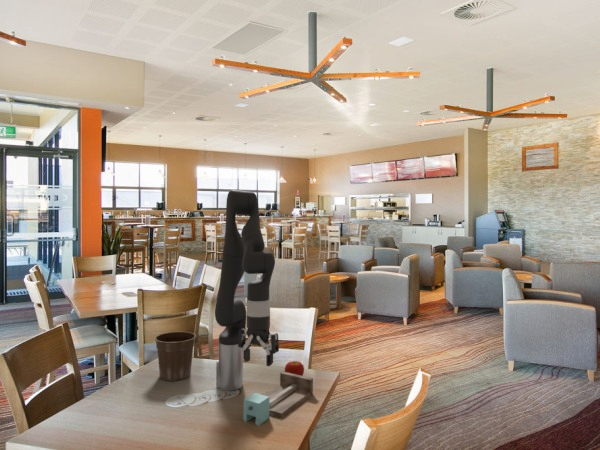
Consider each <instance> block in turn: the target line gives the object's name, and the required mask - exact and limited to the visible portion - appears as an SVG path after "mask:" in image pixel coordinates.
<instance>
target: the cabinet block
mask: <svg viewBox="0 0 600 450" xmlns="http://www.w3.org/2000/svg"><path fill="white" fill-rule="evenodd" d="M242 410H243V411H242V412H243V413H242V414H243V415H242V419H243V421H244V422H248V421H250V420H251V419H252V418H255V426H260V425H261V424H263V423H264V422H265V421H267V420H268V419H269V418H270V414H269V397H268V396H265V394H261V393H256V392H253V393H252V394H250V395H248V396H246V397H245V398H243V409H242Z"/></svg>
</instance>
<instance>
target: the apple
mask: <svg viewBox="0 0 600 450" xmlns="http://www.w3.org/2000/svg"><path fill="white" fill-rule="evenodd" d="M284 372H288V373H292V374H296V375H301V376H304V372H305V367H304V364H303V363H302V362H301V361H297V360H295V361H288V362H287V363H286V364H285V367H284Z"/></svg>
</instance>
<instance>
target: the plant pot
mask: <svg viewBox="0 0 600 450" xmlns="http://www.w3.org/2000/svg"><path fill="white" fill-rule="evenodd" d="M196 338H197V335H196V334H195V333H194V332H190V331H170V332H169V331H168V332H163V333H160V334H158V335H156V336H154V341H155V345H156V350H157V357H158V358H157V359H158V369H159V378H160V379H162V380H164V381H172V382H173V381H180V380H181V379H187V378H189V377H190V376H191V374H192V372H191V371H192V364H193V363H192V361H193V352H194V346H195V341H196V340H195V339H196Z"/></svg>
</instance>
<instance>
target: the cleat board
mask: <svg viewBox="0 0 600 450" xmlns="http://www.w3.org/2000/svg"><path fill="white" fill-rule="evenodd" d="M313 392H314V378H313V377H308V376H305V375H303V376H301V375H296V374H292V373H288V372H285V371H282V372H280V373H279V385H278V386H277V385H276V387H274V388H273V389H271V390H269V391H268V392H267V393H264V395H265V396H268V397H269V416H274V417H278V418H280V419H281V418H284V417H285V416H286V415H288V413H290V412H291V411H293V409H295V408H297V407H299V405H300V404H302V403H303V402H304V401H306V400H307V399H309V398H310V397H311V396H312V395H313V394H314V393H313Z"/></svg>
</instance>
